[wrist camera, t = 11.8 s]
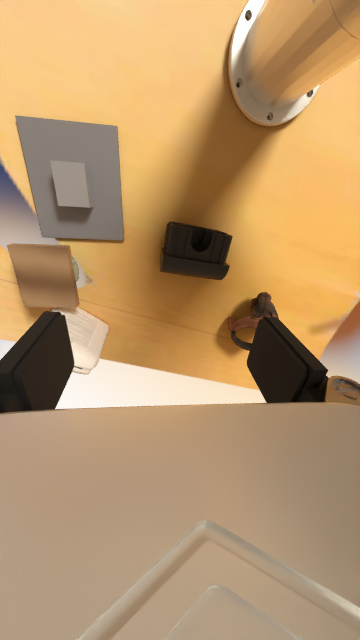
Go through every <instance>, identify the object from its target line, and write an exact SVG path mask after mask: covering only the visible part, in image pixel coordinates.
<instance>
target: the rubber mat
mask: <svg viewBox="0 0 360 640" xmlns="http://www.w3.org/2000/svg"><path fill="white" fill-rule="evenodd" d="M15 117H16V121H17V126H18V130H19V135H20V139H21V144H22V148H23V153H24V157H25V162H26V166H27V171H28V175H29V180H30V184H31V189H32V193H33V198H34V202H35V207H36V211H37V216H38V220H39V225H40V229H41V233H42V237H50V238H76V239H101V240H124V230H123V213H122V196H121V179H120V162H119V145H118V129H117V126H111V125H101V124H92V123H82V122H72V121H63V120H53V119H44V118H34V117H24V116H15Z"/></svg>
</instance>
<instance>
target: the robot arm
mask: <svg viewBox="0 0 360 640" xmlns="http://www.w3.org/2000/svg"><path fill="white" fill-rule="evenodd" d="M245 18H246V19H247V21H246V20H245ZM359 58H360V0H249V1H248V2H247V4H246V5H245V7H244V9H243V11H242V12H241V14H240V16H239V19H238V21H237V24H236V26H235V29H234V31H233V35H232V39H231V44H230V49H229V59H228V72H229V80H230V87H231V90H232V93H233V97H234V99H235V101H236V103H237V105H238V107H239V109H240V110H241V111H242V112H243V114H244V115H245V116H246V117H247V118H248V119H250V120H251V121H252V122H254V123H256V124H259V125H262V126H277V125H280V124H283V123H285V122H287V121H289V120H291V119H293V118H294V117H295V116H297V115H298V114H300V113H301V112H302V111H303V110H304V109H305V108H306V107H307V106H308V104H309V103H310V102H311V100H312V99H313V98H314V96H315V94H316V93H317V91H318V89H319V87H320V85H321V83H323V82H324V81H326V80H327V79H329V78H330V77H332V76H333V75H335V74H336V73H338V72H339V71H341V70H342V69H344V68H345V67H347V66H348V65H350V64H351V63H353V62H354V61H356V60H357V59H359ZM236 84H238V85H239V88H238V87H237V86H236ZM267 116H268V118H269V119H268V120H267ZM247 366H248V368H249V370H250V372H251V374H252V376H253V378H254V380H255V382H256V384H257V385H258V387H259V389H260V391H261V393H262V395H263V397H264V399H265V400H266V402H267V403H248V404H247V403H245V404H205V405H173V406H172V405H171V406H141V407H140V406H137V407H109V408H82V409H81V408H79V409H55V408H56V406H57V403H58V401H59V399H60V397H61V394H62V392H63V390H64V388H65V386H66V383H67V381H68V379H69V377H70V375H71V373H72V371H73V368H74V357H73V352H72V347H71V342H70V337H69V332H68V327H67V322H66V317H65V315H61V313H60V312H51V311H45V312H44V313H43V314H42V315H41V316H40V317H39V318H38V320H37V321H36V322H35V323H34V324H33V325H32V326H31V327H30V328H29V329H28V330H27V332H26V333H25V334H24V335H23V336H22V337H21V338H20V339H19V340H18V341H17V343H16V344H15V345H14V346H13V347H12V348H11V349H10V350H9V351H8V352H7V354H6V355H5V356H4V357H3V358H2V359H1V360H0V640H360V384H358V383H357V382H355V381H353V380H351V379H349V378H345V377H342V376H332V377H330V378H328V377H327V376H326V373H327V371H328V370H327V369H326V368H325V366H323V364H322V363H321V362H320V361H319V360H318V359H317V358H316V357H315V356H314V355H313V354H312V353H311V352H310V351H309V350H308V349H307V348H306V347H305V346H304V345H303V344H302V343H301V342H300V341H299V340H298V339H297V338H296V337H295V336H294V335H293V334H292V333H291V332H290V330H289V329H288V328H287V327H286V326H285V325H284V324H283V323H282V322H281V321H280V320H279V319H278V318H277V317H271V316H264V317H263V318H262V319H260V320H259V322H258V325H257V328H256V332H255V335H254V339H253V342H252V345H251V349H250V352H249V356H248V359H247Z"/></svg>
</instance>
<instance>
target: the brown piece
mask: <svg viewBox="0 0 360 640" xmlns="http://www.w3.org/2000/svg"><path fill="white" fill-rule="evenodd" d="M270 301H271V296H270V294H268V293H267V292H262V293H260V294H259V295H258V296H257V298H254V299H252V305H251V312H252V315H253V316H255V317H256V318H253V319H252V318H251V316H247V317H243V318H240V319H238V320H236V321H234V322H232V317H231V316H230V317H229V321H228V326H229V330H230V333H231V334H232V335H231V338H232V340H233V342H234V343H235V344H236V345H238V346H239V347H241V348H243V349H245V350H249V351H250V349H251V345H252V343H247V342H244V341H241V340H240V339H239V338H237V337H236V334H235V331H238V330H239V329H241V328H257V325H258V322H259V320H260V319H262V318H263V317H264V316H271V317H277V318H278V314H277V312H276V310H275V307H274V305H273V304H272V303H271V302H270ZM269 312H270V315H269ZM278 319H279V318H278Z"/></svg>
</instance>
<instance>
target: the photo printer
mask: <svg viewBox="0 0 360 640" xmlns="http://www.w3.org/2000/svg"><path fill="white" fill-rule="evenodd" d="M51 312H60V313H61V315H65V317H66V322H67V327H68V332H69V337H70V342H71V347H72V352H73V357H74V368H73V371H72V372H76V373H80V374H89V373H90V371H91V370H92V369H93V368H94V367H95V366H96V365H97V363H98V361H99V358H100V355H101V352H102V349H103V346H104V343H105V340H106V337H107V334H108V330H109V326H108V325H107V324H105V323H104V322H103V321H101V320H99V319H98V318H96V317H94V316H92V315H91V314H89V313H87V312H85V311H84V310H82V309H80V308H78V307H54V308H53V309H52V310H51Z"/></svg>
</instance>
